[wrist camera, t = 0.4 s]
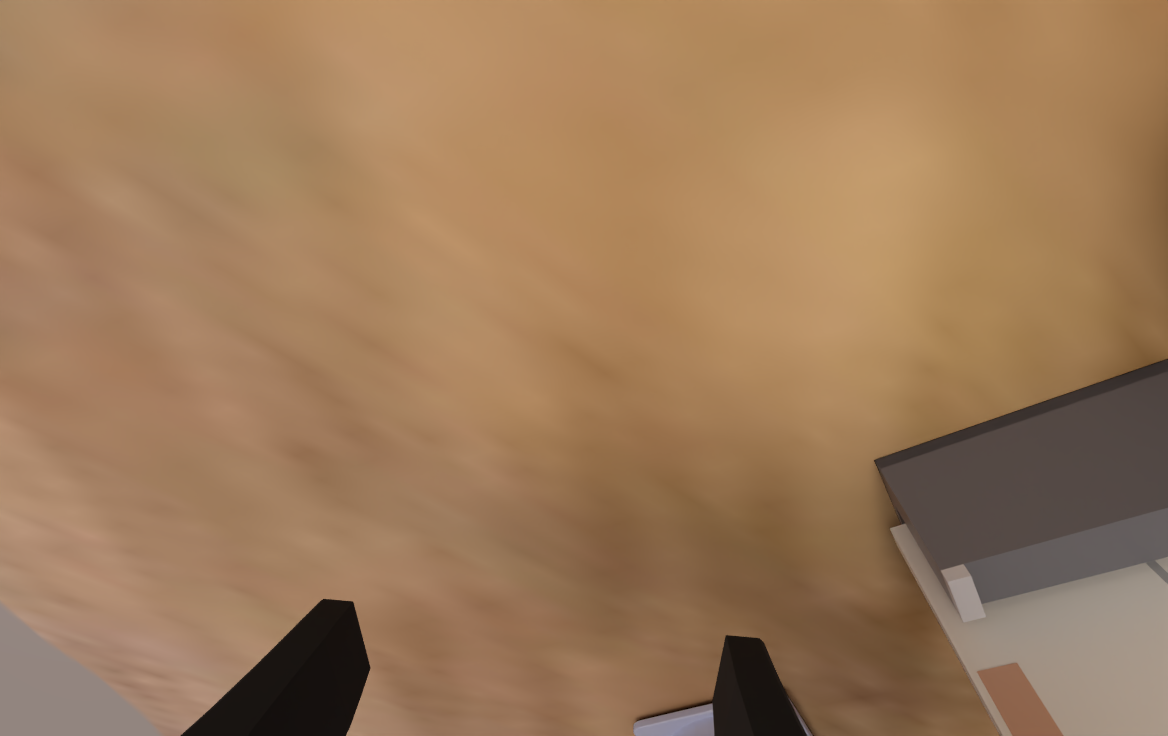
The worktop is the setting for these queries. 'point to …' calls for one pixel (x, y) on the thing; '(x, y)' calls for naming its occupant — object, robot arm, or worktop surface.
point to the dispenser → (1041, 492)
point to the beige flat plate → (1064, 651)
